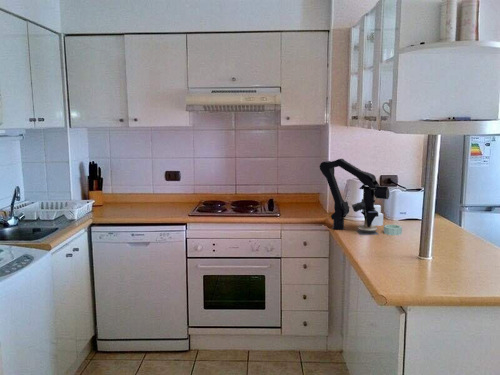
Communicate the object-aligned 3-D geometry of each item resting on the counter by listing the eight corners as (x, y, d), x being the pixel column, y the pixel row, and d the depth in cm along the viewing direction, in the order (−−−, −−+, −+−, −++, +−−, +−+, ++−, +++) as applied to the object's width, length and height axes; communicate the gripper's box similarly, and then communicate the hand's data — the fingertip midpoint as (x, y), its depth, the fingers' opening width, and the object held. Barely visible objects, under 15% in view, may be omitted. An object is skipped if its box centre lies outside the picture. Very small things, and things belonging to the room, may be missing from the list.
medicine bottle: (367, 223, 258) (367, 203, 256) (378, 223, 259) (379, 203, 257) (371, 226, 251) (371, 205, 249) (383, 226, 252) (383, 205, 250)
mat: (356, 230, 241) (356, 230, 241) (374, 230, 241) (374, 229, 241) (360, 235, 232) (360, 234, 232) (379, 235, 231) (379, 234, 231)
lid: (356, 226, 241) (356, 218, 240) (374, 226, 241) (375, 217, 240) (360, 230, 231) (360, 222, 230) (379, 230, 231) (379, 222, 230)
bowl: (381, 231, 239) (382, 224, 238) (398, 231, 238) (398, 224, 238) (386, 236, 230) (386, 228, 229) (403, 235, 230) (404, 228, 229)
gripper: (349, 194, 243) (349, 222, 245) (357, 201, 224) (356, 230, 227) (370, 194, 243) (369, 222, 245) (379, 200, 224) (378, 230, 226)
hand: (367, 226), depth 236 cm, fingers closed on lid, 3 cm apart
